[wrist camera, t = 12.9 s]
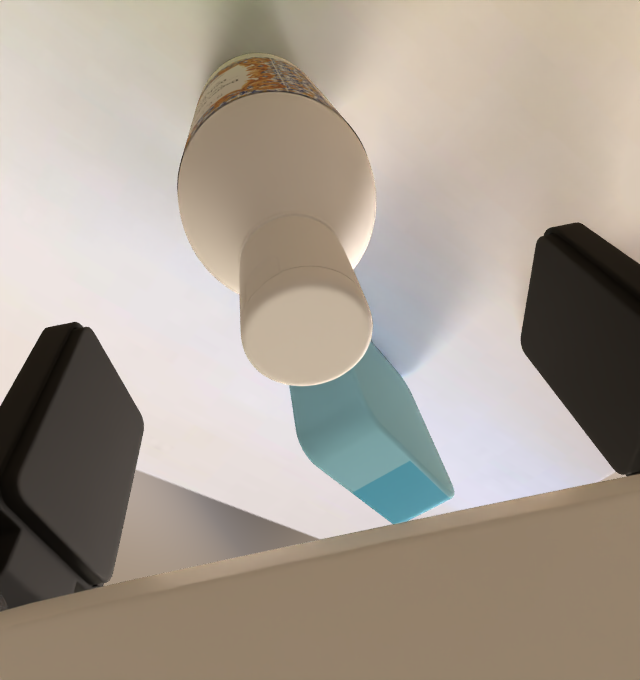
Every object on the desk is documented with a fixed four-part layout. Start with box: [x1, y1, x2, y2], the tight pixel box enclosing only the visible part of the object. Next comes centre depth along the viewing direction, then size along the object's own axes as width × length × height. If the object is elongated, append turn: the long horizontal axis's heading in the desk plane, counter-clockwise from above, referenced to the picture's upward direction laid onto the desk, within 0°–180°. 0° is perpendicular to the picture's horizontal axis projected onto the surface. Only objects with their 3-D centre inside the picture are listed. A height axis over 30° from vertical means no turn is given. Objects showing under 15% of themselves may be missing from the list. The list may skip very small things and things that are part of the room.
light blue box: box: [289, 341, 454, 524], centre depth 32 cm, size 12×4×12 cm, turn 36°
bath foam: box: [177, 53, 376, 386], centre depth 18 cm, size 7×7×20 cm
